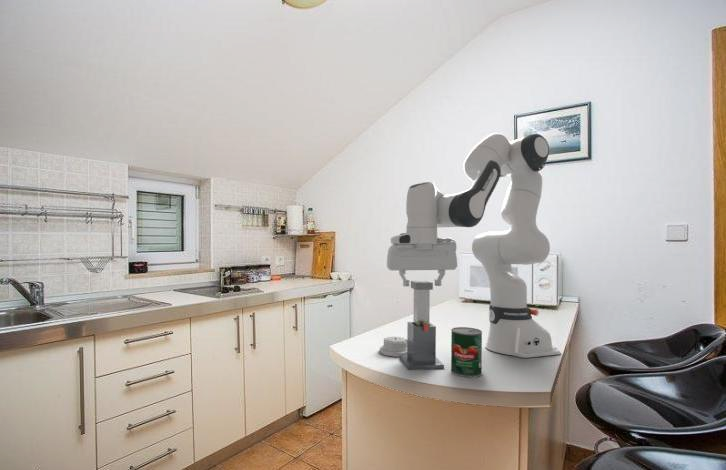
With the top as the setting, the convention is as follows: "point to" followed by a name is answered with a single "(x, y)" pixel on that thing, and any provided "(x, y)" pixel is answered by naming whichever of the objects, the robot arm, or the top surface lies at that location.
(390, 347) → the mechanical component
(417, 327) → the grey hollow housing
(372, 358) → the top surface
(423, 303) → the column
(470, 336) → the canned tomato
